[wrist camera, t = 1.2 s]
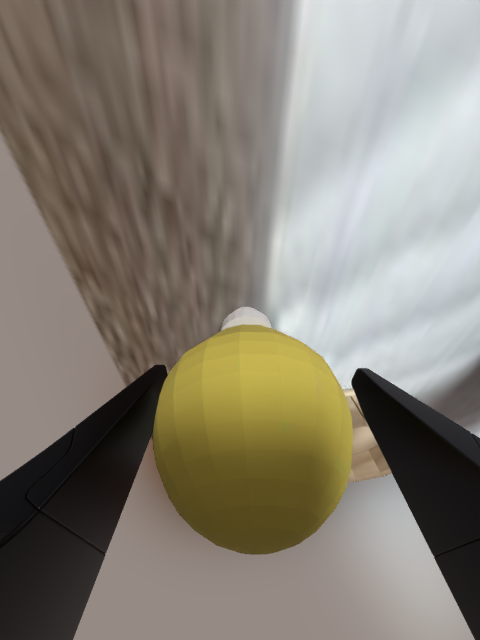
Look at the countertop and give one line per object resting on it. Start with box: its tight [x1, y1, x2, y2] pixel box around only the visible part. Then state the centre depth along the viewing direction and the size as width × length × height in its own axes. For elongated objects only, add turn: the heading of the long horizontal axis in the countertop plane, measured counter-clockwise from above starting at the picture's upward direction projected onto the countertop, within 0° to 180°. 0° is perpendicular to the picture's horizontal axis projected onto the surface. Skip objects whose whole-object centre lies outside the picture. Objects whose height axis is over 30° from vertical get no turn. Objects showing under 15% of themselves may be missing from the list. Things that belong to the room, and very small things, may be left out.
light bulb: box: [153, 307, 353, 554], centre depth 8 cm, size 7×7×10 cm
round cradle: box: [343, 389, 392, 482], centre depth 18 cm, size 11×11×3 cm
